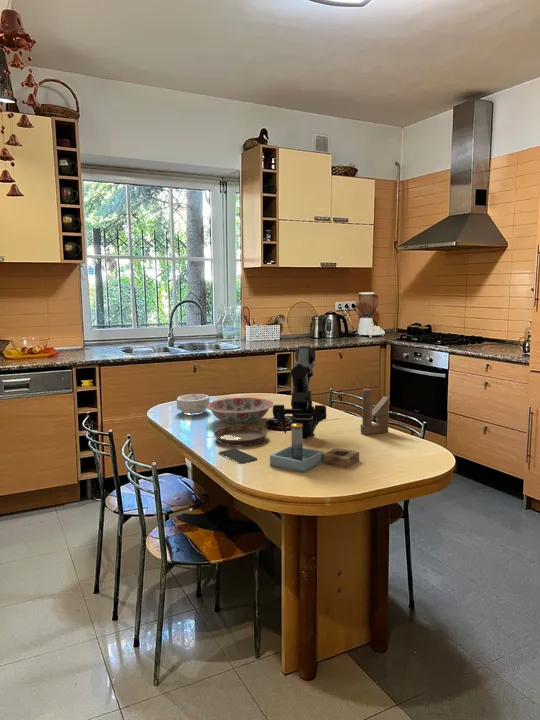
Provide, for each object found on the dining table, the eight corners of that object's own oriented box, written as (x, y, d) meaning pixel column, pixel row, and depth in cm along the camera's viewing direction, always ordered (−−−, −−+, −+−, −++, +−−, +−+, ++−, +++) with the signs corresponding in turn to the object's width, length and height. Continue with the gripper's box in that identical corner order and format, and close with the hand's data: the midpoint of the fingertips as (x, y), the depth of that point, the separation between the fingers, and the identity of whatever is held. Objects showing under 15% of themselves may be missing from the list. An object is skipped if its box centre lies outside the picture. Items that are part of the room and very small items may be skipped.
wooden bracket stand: (388, 432, 211) (389, 388, 209) (365, 435, 207) (365, 390, 205) (383, 430, 215) (383, 386, 212) (360, 433, 211) (360, 388, 208)
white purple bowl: (170, 415, 246) (170, 399, 245) (188, 408, 260) (187, 392, 258) (199, 418, 240) (198, 401, 239) (215, 411, 254) (215, 394, 253)
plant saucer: (250, 451, 192) (249, 442, 191) (203, 443, 202) (203, 435, 201) (277, 436, 209) (277, 428, 209) (233, 430, 219) (232, 422, 219)
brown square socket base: (322, 463, 176) (322, 454, 176) (335, 456, 183) (335, 447, 183) (346, 468, 171) (346, 459, 170) (359, 460, 178) (359, 451, 178)
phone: (240, 463, 177) (217, 452, 189) (240, 465, 177) (217, 454, 189) (258, 458, 181) (234, 448, 193) (258, 461, 181) (234, 450, 193)
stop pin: (289, 460, 177) (288, 424, 175) (299, 458, 179) (298, 422, 177) (295, 463, 174) (294, 426, 172) (305, 461, 176) (305, 425, 174)
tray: (270, 465, 175) (269, 455, 174) (291, 455, 185) (291, 445, 185) (303, 472, 167) (303, 462, 167) (324, 461, 178) (324, 451, 177)
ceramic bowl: (194, 427, 224) (193, 409, 223) (225, 412, 251) (225, 395, 250) (257, 433, 213) (257, 414, 212) (283, 416, 240) (283, 399, 239)
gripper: (272, 382, 186) (269, 421, 177) (326, 382, 184) (325, 422, 175) (275, 399, 195) (272, 437, 186) (326, 399, 193) (326, 438, 184)
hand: (298, 433), depth 182 cm, fingers open, 9 cm apart
